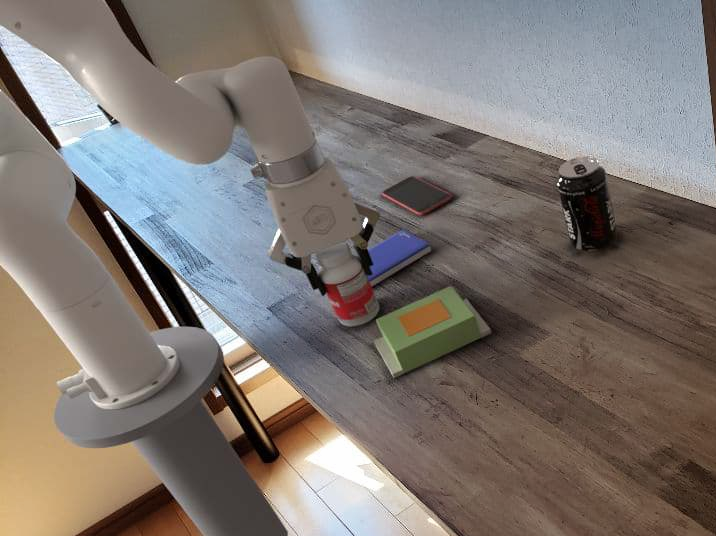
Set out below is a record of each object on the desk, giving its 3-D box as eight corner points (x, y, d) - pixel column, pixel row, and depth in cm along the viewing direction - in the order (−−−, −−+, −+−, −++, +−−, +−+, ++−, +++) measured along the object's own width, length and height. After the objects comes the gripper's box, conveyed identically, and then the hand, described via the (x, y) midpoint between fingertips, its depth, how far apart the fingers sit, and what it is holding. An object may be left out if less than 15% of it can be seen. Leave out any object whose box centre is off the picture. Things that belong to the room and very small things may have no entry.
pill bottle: (336, 311, 122) (307, 247, 115) (376, 297, 123) (349, 231, 116) (342, 333, 118) (312, 267, 110) (384, 318, 118) (356, 251, 111)
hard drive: (401, 228, 134) (336, 266, 129) (428, 243, 128) (361, 283, 124) (405, 237, 135) (340, 275, 130) (432, 251, 129) (365, 292, 125)
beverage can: (578, 261, 118) (560, 184, 110) (566, 239, 123) (548, 164, 115) (624, 246, 118) (610, 168, 110) (610, 224, 123) (595, 149, 115)
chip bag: (394, 378, 107) (384, 356, 105) (375, 344, 114) (365, 323, 112) (491, 333, 110) (484, 310, 107) (467, 302, 116) (460, 280, 114)
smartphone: (419, 214, 138) (379, 192, 147) (420, 217, 138) (380, 195, 148) (453, 194, 140) (412, 174, 150) (454, 198, 141) (413, 177, 150)
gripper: (231, 199, 100) (292, 319, 112) (365, 146, 104) (410, 268, 115) (222, 178, 106) (281, 294, 118) (350, 128, 109) (394, 246, 121)
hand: (344, 280), depth 116 cm, fingers closed on pill bottle, 6 cm apart
